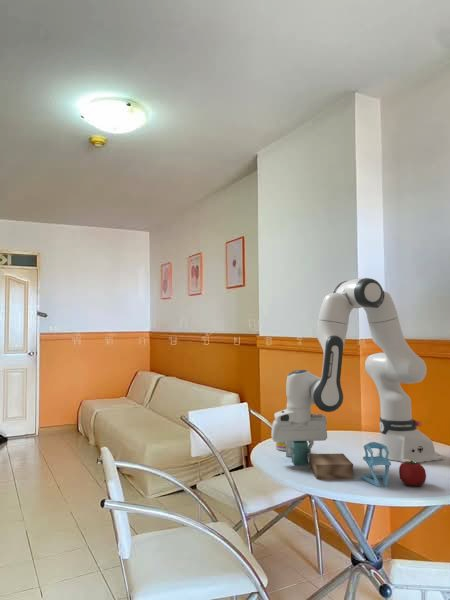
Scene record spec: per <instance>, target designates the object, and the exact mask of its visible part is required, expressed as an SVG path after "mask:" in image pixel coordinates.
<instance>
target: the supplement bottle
mask: <svg viewBox="0 0 450 600" xmlns="http://www.w3.org/2000/svg"><path fill="white" fill-rule="evenodd" d="M275 448H276V450H278V451H285V452H286V443H285V442H275Z"/></svg>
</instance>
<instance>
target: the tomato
mask: <svg viewBox="0 0 450 600" xmlns="http://www.w3.org/2000/svg"><path fill="white" fill-rule="evenodd" d="M398 475H399V479H400V480H401V482H402V483H403V484H404V485H405V486H410V487H412V486H413V487H421V485H424V484H425V482H426V481H427V473H426V469H425V468H424V466H423V465H422V464H421V463H420V462H417V463H415V462H413V461H410V462H408V461H406V462H401V464H400V465H399V467H398Z"/></svg>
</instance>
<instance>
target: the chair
mask: <svg viewBox="0 0 450 600" xmlns="http://www.w3.org/2000/svg"><path fill="white" fill-rule="evenodd" d="M363 449H364V452H365V455H364V456H362V460H364V461H365V463H366V464H367V466H368V467H369V470H370V472H371V474H364V475H360V479H361V480H363V481H365V482H367V483H370V484H372V485H373V486H375V487H377V488H380V482H379V479H382V484H383V486H384V487H387V488H388V480H389V472H390V467H391V465H392V463H391V461H389V459H388V455H389V451H388V448H387V446H385V445H383V444H380V442H376V441H372V442H368V443H367V444H365V445H363ZM373 449H378V450H379V449H380V451H379V455H376V456H374V451H373ZM382 449H385V451H386V453H387V454H386V456H385V458H384V457H383V456H382ZM369 454H370V456H369ZM373 466H376V467H377V466H385V468H384V469H385V471H384V474H376V473H375V471H374V467H373Z"/></svg>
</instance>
